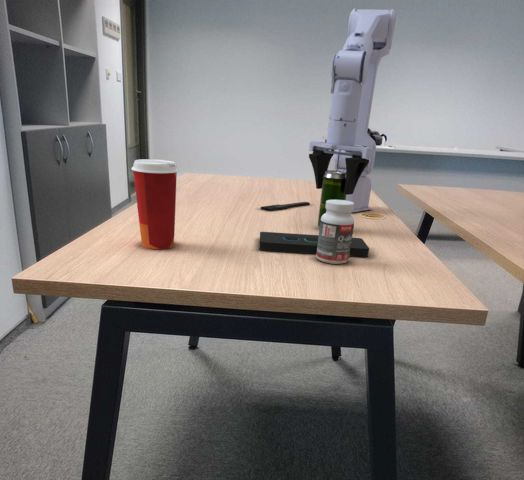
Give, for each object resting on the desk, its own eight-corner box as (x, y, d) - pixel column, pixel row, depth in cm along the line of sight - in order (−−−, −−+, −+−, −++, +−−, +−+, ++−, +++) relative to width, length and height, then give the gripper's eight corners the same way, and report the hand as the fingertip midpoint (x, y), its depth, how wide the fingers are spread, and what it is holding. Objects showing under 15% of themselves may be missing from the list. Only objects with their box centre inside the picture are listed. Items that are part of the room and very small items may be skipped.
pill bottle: (340, 266, 80) (349, 206, 75) (310, 259, 82) (317, 201, 78) (353, 259, 84) (362, 202, 79) (324, 253, 87) (331, 197, 82)
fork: (303, 203, 131) (303, 201, 131) (311, 205, 129) (311, 203, 129) (260, 209, 120) (260, 206, 120) (268, 211, 118) (269, 208, 118)
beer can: (346, 230, 104) (354, 173, 99) (329, 233, 101) (337, 174, 96) (328, 225, 108) (335, 169, 102) (312, 227, 105) (318, 170, 99)
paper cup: (187, 243, 87) (186, 162, 80) (166, 253, 80) (163, 165, 74) (149, 237, 89) (146, 157, 82) (126, 246, 82) (120, 160, 76)
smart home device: (260, 230, 92) (361, 237, 92) (259, 239, 93) (360, 245, 93) (259, 241, 84) (370, 248, 85) (259, 250, 85) (368, 257, 86)
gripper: (302, 117, 96) (296, 187, 102) (362, 122, 88) (351, 198, 94) (323, 118, 101) (316, 185, 107) (382, 123, 92) (370, 195, 98)
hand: (334, 191), depth 101 cm, fingers open, 7 cm apart
